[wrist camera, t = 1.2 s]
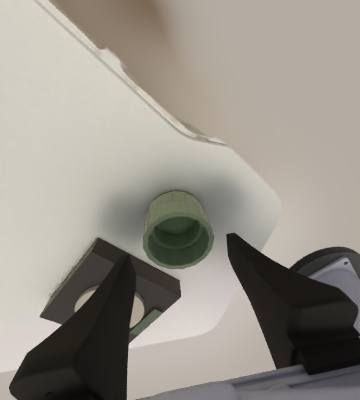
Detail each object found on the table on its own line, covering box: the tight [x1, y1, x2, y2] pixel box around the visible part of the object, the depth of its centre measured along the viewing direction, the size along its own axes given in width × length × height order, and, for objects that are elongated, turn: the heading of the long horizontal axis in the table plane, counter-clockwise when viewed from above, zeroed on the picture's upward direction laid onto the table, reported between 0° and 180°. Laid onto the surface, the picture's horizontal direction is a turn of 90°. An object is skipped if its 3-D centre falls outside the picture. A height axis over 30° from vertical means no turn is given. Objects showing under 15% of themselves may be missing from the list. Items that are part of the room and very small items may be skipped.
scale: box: [40, 238, 181, 343], centre depth 21 cm, size 11×11×3 cm
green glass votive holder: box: [143, 191, 214, 269], centre depth 17 cm, size 6×6×4 cm
